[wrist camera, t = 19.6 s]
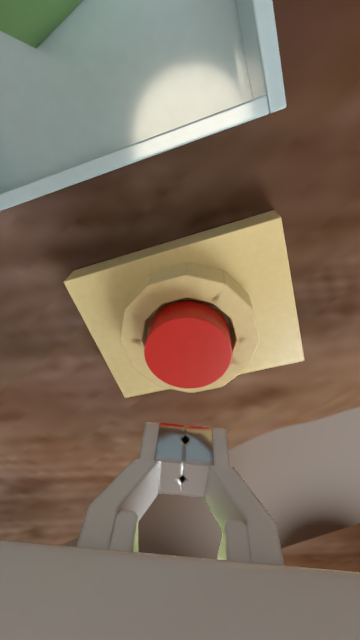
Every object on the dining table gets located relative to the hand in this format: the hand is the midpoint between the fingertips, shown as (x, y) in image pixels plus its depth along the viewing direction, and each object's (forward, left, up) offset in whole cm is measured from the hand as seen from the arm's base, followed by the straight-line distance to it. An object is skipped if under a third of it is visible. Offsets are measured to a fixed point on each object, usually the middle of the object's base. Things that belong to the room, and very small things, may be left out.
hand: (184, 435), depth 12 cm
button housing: (0, 0, -10) cm, 10 cm away
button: (0, 0, -7) cm, 7 cm away
